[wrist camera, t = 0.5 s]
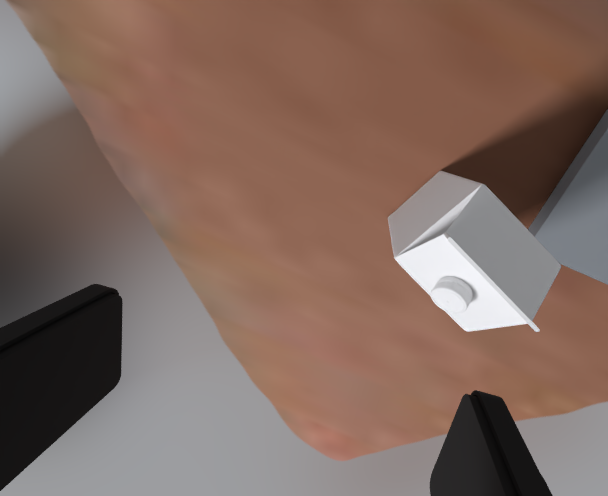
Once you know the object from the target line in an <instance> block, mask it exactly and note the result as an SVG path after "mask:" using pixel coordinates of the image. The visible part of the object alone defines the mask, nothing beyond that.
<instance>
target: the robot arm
mask: <svg viewBox="0 0 608 496" xmlns="http://www.w3.org/2000/svg"><path fill="white" fill-rule="evenodd" d="M121 345H122V298H121V296H119V293H118V291H117V290H116V289H113V288H109V287H106V286H103V285H99V284H93V285H90V286H88V287H86V288H84V289H82V290H80V291H78V292H75V293H73V294H71V295H69V296H67V297H65V298H63V299H61V300H59V301H56V302H54V303H52V304H50V305H48V306H46V307H44V308H42V309H40V310H38V311H36V312H33V313H31V314H29V315H27V316H25V317H23V318H21V319H18V320H16V321H14V322H12V323H10V324H8V325H6V326H4V327H1V328H0V491H1V490H2V489H3V488H4V487H5V486H6V485H8V484H9V483H10V482H11V481H12V480H13V479H14V478H15V477H16V476H17V475H19V474H20V473H21V472H22V471H23V470H24V469H25V468H26V467H27V466H28V465H30V464H31V463H32V462H33V461H34V460H35V459H36V458H37V457H38V456H40V455H41V454H42V453H43V452H44V451H45V450H46V449H47V448H48V447H50V446H51V445H52V444H53V443H54V442H55V441H56V440H57V439H58V438H59V437H61V436H62V435H63V434H64V433H65V432H66V431H67V430H68V429H69V428H70V427H72V426H73V425H74V424H75V423H76V422H77V421H78V420H79V419H80V418H82V417H83V416H84V415H85V414H86V413H87V412H88V411H89V410H90V409H91V408H93V407H94V406H95V405H96V404H97V403H98V402H99V401H100V400H101V399H103V398H104V397H105V396H106V395H107V394H108V393H109V392H110V391H111V390H113V389H114V388H115V386H116V385H117V384H118V382H119V380H120V377H121V349H122V346H121ZM430 494H431V496H552V494H551V492H550V490H549V488H548V486H547V484H546V482H545V480H544V478H543V477H542V475H541V474H540V472H539V470H538V469H537V466H536V465H535V462H534V460H533V458H532V456H531V454H530V452H529V450H528V448H527V446H526V444H525V442H524V440H523V438H522V436H521V434H520V432H519V430H518V428H517V426H516V424H515V422H514V420H513V418H512V416H511V414H510V412H509V410H508V408H507V406H506V404H505V402H504V401H503V399H502V398H501V397H498V396H495V395H491V394H488V393H484V392H480V391H477V390H475V391H473V392H472V393H471V395H468V394H465V395H464V396H463V397H462V400H461V402H460V405H459V407H458V409H457V412H456V414H455V417H454V419H453V422H452V424H451V427H450V429H449V432H448V434H447V437H446V439H445V442H444V444H443V447H442V449H441V452H440V454H439V457H438V459H437V462H436V464H435V467H434V469H433V471H432V474H431V479H430Z"/></svg>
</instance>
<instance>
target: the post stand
mask: <svg viewBox="0 0 608 496" xmlns="http://www.w3.org/2000/svg"><path fill="white" fill-rule="evenodd" d="M528 231H529V232H530V233H531V234H532V235H533V236H534V237H535V238H536V239H537V240H538V241H539V242H540V243H541V244H542V245H543V246H544V248H545V249H546V250H547V251H548V252H549V253H550V254H551V255H552V256H553V257H554V258H555V259H556V260H557V261H558V263H559V264H562V265H564V266H566V267H569V268H571V269H573V270H576V271H578V272H580V273H582V274H585V275H587V276H589V277H592V278H594V279H596V280H598V281H601V282H603V283H605V284H608V109H607V110H606V112H605V113H604V115H603V116H602V118H601V120H600V121H599V123H598V124H597V126H596V127H595V129H594V130H593V132H592V133H591V135H590V136H589V138H588V139H587V141H586V142H585V144H584V145H583V147H582V148H581V150H580V151H579V153H578V154H577V156H576V157H575V159H574V160H573V162H572V163H571V165H570V166H569V168H568V169H567V171H566V172H565V174H564V175H563V177H562V179H561V180H560V182H559V183H558V185H557V186H556V188H555V189H554V191H553V192H552V194H551V195H550V197H549V198H548V200H547V201H546V203H545V204H544V206H543V207H542V209H541V210H540V212H539V213H538V215H537V216H536V218H535V219H534V221H533V222H532V224H531V225H530V227H529V228H528Z"/></svg>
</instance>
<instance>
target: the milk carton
mask: <svg viewBox="0 0 608 496" xmlns="http://www.w3.org/2000/svg"><path fill="white" fill-rule="evenodd" d="M388 223H389V229H390V235H391V241H392V248H393V254H394V258H395V260H396V261H397V262H398V263H399V264H400V265H401V266H402V267H403V268H404V270H405V271H406V272H407V273H408V274H409V275H410V276H411V277H412V278H413V279H414V280H415V281H416V282H417V283H418V284H419V285H420V286H421V287H422V288H423V289H424V290H425V291H426V292H427V293H428V294H429V295H430V296H431V298H432V300H433V301H434V303H435V304H436V305H437V306H438V307H440V308H441V309H443V310H444V311H446V313H447V314H448V315H449V316H450V317H451V318H452V319H453V320H454V321H455V322H456V323H457V324H458V325H459V326H460V327H462V328H463V329H464V330H465V331H467V332H468V331H476V330H484V329H491V328H498V327H506V326H513V325H521V324H529V325H530V326H531V327H532V328H533V329H534V331H536V332H538V331H540V330H539V328H538V327H537V326H536V325H535V324H534V323H533V322H532V320H533V318H534V317H535V315H536V313H537V311H538V309H539V307H540V305H541V304H542V302H543V300H544V298H545V296H546V294H547V292H548V291H549V289H550V287H551V285H552V283H553V281H554V280H555V278H556V276H557V274H558V272H559V270H560V268H561V265H560V264H559V263H558V261H557V260H556V259H555V258H554V257H553V256H552V255H551V254H550V253H549V252H548V251H547V250H546V249H545V248H544V246H543V245H542V244H541V243H540V242H539V241H538V240H537V239H536V238H535V237H534V236H533V235H532V234H531V233H530V232H529V231H528V230H527V228H526V227H525V226H524V225H523V224H522V223H521V222H520V221H519V220H518V219H517V218H516V217H515V216H514V215H513V214H512V213H511V212H510V210H509V209H508V208H507V207H506V206H505V205H504V204H503V203H502V202H501V201H500V200H499V199H498V198H497V197H496V196H495V195H494V194H493V193H492V191H491V190H490V189H489V188H488V187H487V186H486V185H484V184H482V183H479V182H476V181H472V180H469V179H466V178H463V177H460V176H456V175H453V174H450V173H447V172H444V171H439V172H438V173H437V174H436V175H435V176H434V177H432V178H431V179H430V180H429V181H428V182H427V183H426V184H425V185H424V186H422V187H421V188H420V189H419V190H418V191H417V192H416V193H415V194H414V195H412V196H411V197H410V198H409V199H408V200H407V201H406V202H405V203H403V204H402V205H401V206H400V207H399V208H398V209H397V210H396V211H395V212H393V213H392V214H391V215H390V216H389V217H388Z"/></svg>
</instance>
